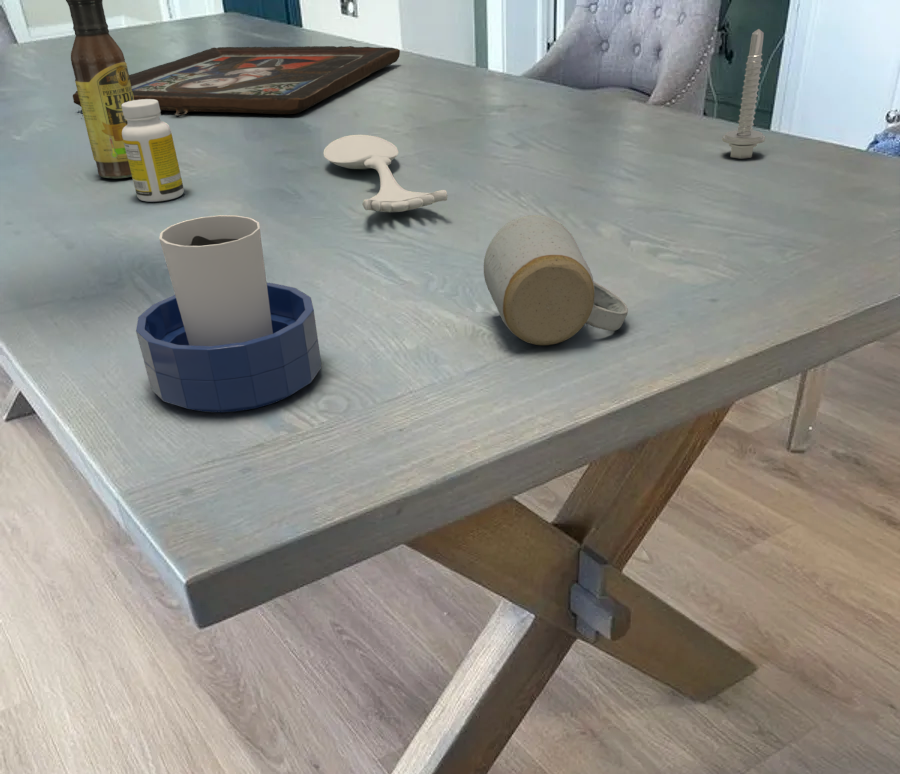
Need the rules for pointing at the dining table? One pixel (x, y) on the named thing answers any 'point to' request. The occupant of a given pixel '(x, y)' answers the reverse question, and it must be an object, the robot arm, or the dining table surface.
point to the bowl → (231, 357)
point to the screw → (748, 104)
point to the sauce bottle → (101, 86)
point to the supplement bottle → (150, 152)
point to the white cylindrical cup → (218, 279)
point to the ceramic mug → (546, 283)
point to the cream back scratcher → (378, 156)
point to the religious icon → (257, 78)
